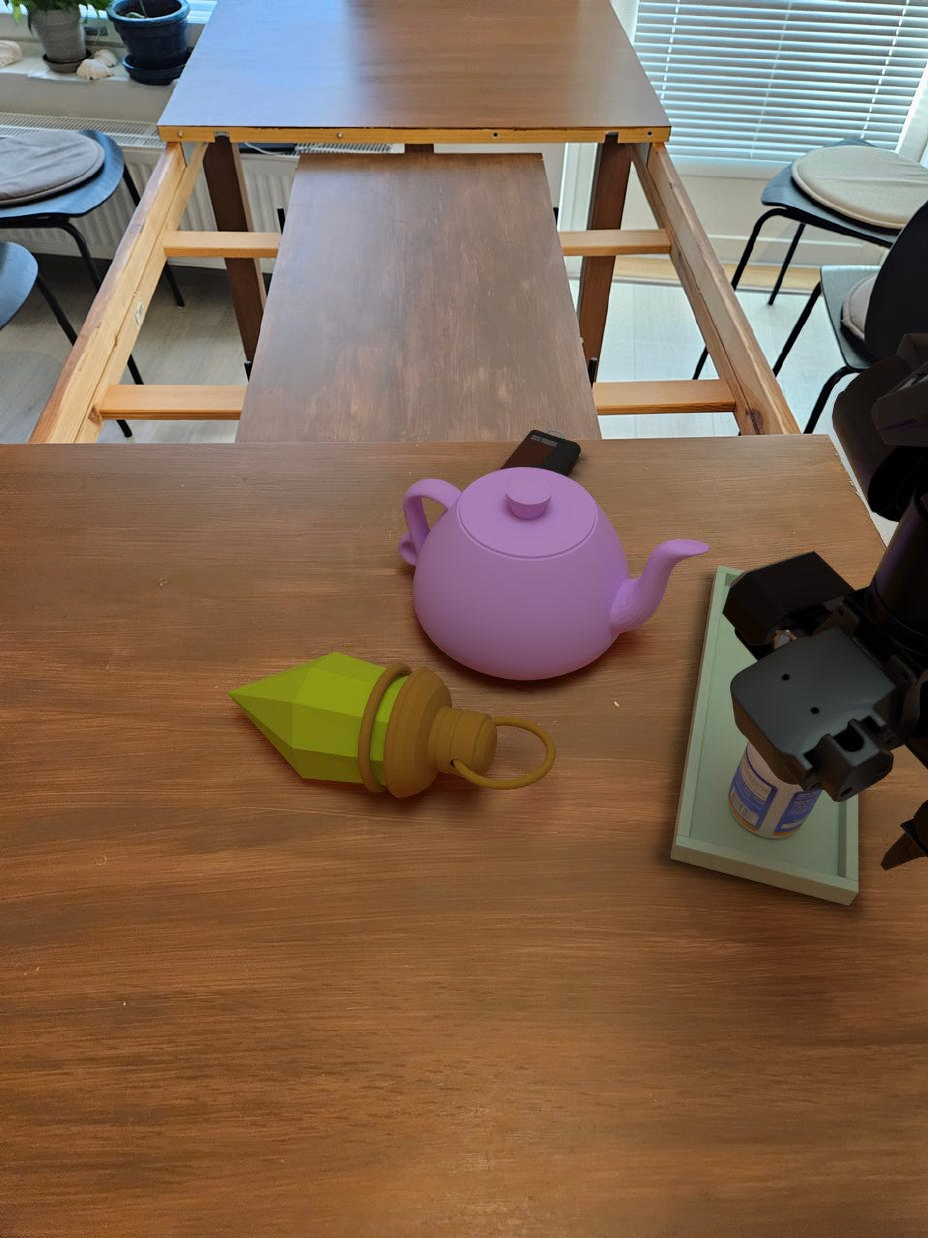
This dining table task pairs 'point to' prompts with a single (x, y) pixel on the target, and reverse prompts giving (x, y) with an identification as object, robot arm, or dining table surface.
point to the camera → (545, 452)
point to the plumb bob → (377, 726)
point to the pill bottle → (767, 799)
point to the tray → (715, 747)
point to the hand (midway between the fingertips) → (831, 795)
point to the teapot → (526, 573)
